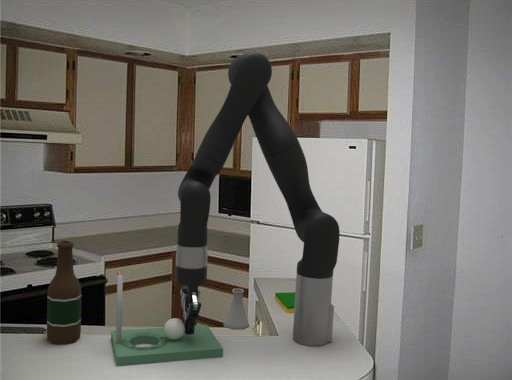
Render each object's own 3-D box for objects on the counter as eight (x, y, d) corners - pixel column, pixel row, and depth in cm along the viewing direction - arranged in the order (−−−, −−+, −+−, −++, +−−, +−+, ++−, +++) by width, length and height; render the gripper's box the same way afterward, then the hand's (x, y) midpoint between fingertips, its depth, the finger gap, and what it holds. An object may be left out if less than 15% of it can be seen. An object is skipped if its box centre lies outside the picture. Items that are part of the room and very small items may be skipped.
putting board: (206, 332, 145) (209, 264, 143) (222, 356, 130) (226, 281, 128) (111, 338, 138) (112, 267, 136) (116, 365, 123) (118, 285, 121)
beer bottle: (87, 337, 138) (89, 241, 135) (64, 347, 131) (65, 246, 128) (63, 330, 141) (64, 237, 138) (39, 340, 134) (40, 242, 131)
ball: (186, 326, 138) (175, 311, 136) (190, 334, 133) (179, 318, 132) (169, 339, 137) (158, 323, 135) (173, 347, 132) (161, 331, 131)
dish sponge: (286, 314, 164) (286, 306, 164) (274, 299, 177) (274, 292, 177) (309, 313, 166) (310, 305, 165) (295, 299, 179) (296, 292, 179)
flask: (246, 332, 147) (248, 295, 146) (219, 329, 148) (221, 292, 147) (252, 323, 154) (254, 287, 153) (226, 320, 155) (228, 285, 154)
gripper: (213, 269, 129) (210, 342, 130) (200, 256, 141) (198, 322, 143) (181, 270, 126) (178, 345, 128) (171, 257, 139) (168, 324, 141)
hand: (189, 333), depth 136 cm, fingers closed
